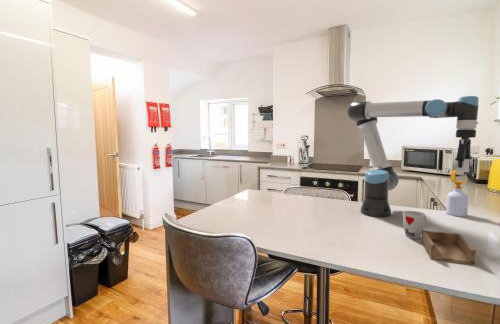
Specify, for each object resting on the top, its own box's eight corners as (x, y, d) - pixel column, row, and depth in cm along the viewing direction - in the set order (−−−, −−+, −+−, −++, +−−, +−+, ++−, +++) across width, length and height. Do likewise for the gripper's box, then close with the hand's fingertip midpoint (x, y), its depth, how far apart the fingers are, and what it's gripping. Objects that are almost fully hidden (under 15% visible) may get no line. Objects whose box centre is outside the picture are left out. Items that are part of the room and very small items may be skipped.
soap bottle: (471, 217, 139) (474, 170, 137) (451, 216, 141) (453, 169, 139) (461, 212, 148) (464, 168, 146) (442, 211, 150) (445, 167, 148)
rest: (430, 259, 92) (431, 244, 91) (421, 242, 107) (422, 230, 106) (474, 265, 87) (475, 250, 87) (458, 246, 102) (459, 233, 102)
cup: (397, 233, 117) (398, 210, 116) (415, 232, 117) (416, 210, 116) (410, 240, 109) (411, 216, 108) (429, 239, 109) (430, 215, 108)
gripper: (471, 128, 118) (467, 176, 120) (480, 129, 135) (476, 171, 137) (450, 128, 123) (447, 174, 125) (461, 129, 140) (457, 170, 142)
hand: (462, 173), depth 131 cm, fingers open, 13 cm apart
